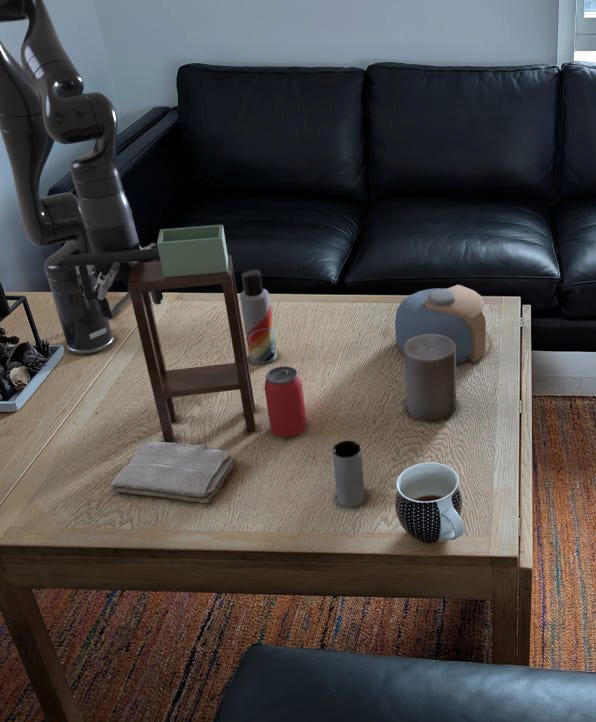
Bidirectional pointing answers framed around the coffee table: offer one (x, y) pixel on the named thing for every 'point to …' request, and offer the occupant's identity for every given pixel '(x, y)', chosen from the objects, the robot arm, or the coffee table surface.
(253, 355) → the lotion bottle
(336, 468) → the grey black cylinder
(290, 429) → the beer can
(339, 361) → the coffee table surface
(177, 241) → the green box scoop
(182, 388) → the stand
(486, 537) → the coffee table surface
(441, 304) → the alarm clock
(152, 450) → the washcloth
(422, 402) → the pillar candle
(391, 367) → the coffee table surface
